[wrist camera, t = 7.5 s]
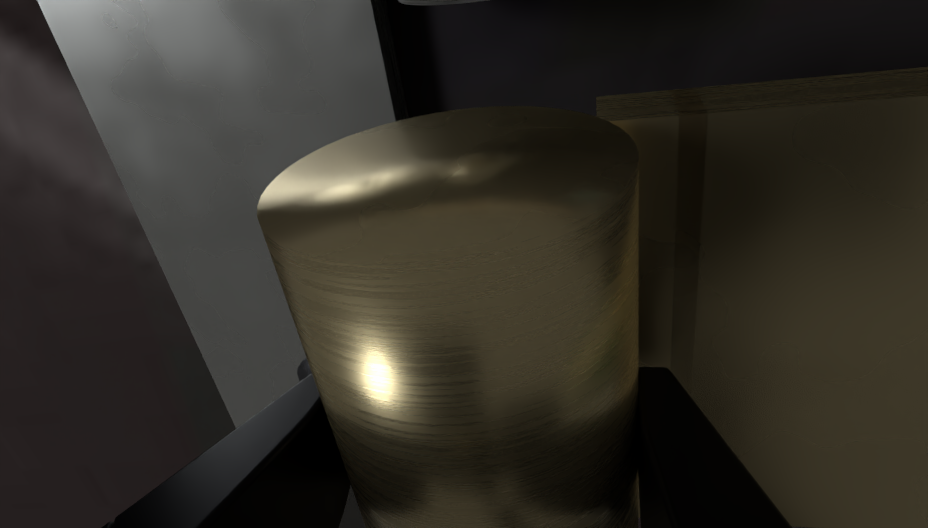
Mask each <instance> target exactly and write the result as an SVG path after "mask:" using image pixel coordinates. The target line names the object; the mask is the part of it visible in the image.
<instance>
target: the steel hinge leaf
mask: <svg viewBox="0 0 928 528" xmlns="http://www.w3.org/2000/svg"><path fill="white" fill-rule="evenodd" d="M37 1H38V3H39V5H40V7H41V10H42V12H43V14H44V16H45V18H46V20H47V22H48V25H49V27H50V29H51V31H52V33H53V35H54V37H55V40H56V42H57V44H58V46H59V48H60V50H61V53H62V55H63V57H64V59H65V61H66V63H67V65H68V68H69V70H70V72H71V74H72V76H73V78H74V80H75V83H76V85H77V87H78V89H79V91H80V93H81V96H82V98H83V100H84V102H85V104H86V106H87V108H88V111H89V113H90V115H91V117H92V119H93V121H94V123H95V126H96V128H97V130H98V132H99V134H100V136H101V139H102V141H103V143H104V145H105V147H106V149H107V151H108V154H109V156H110V158H111V160H112V162H113V164H114V167H115V169H116V171H117V173H118V175H119V177H120V179H121V182H122V184H123V186H124V188H125V190H126V192H127V194H128V197H129V199H130V201H131V203H132V205H133V207H134V210H135V212H136V214H137V216H138V218H139V220H140V222H141V225H142V227H143V229H144V231H145V233H146V235H147V237H148V240H149V242H150V244H151V246H152V248H153V250H154V253H155V255H156V257H157V259H158V261H159V263H160V265H161V268H162V270H163V272H164V274H165V276H166V278H167V280H168V283H169V285H170V287H171V289H172V291H173V293H174V296H175V298H176V300H177V302H178V304H179V306H180V308H181V311H182V313H183V315H184V317H185V319H186V321H187V323H188V326H189V328H190V330H191V332H192V334H193V336H194V339H195V341H196V343H197V345H198V347H199V349H200V351H201V354H202V356H203V358H204V360H205V362H206V364H207V367H208V369H209V371H210V373H211V375H212V377H213V379H214V382H215V384H216V386H217V388H218V390H219V392H220V394H221V397H222V399H223V401H224V403H225V405H226V407H227V410H228V412H229V414H230V416H231V418H232V420H233V422H234V425H235V427H236V429H237V428H238V427H239V426H241V425H242V424H243V423H245V422H246V421H247V420H249V419H250V418H251V417H253V416H254V415H256V414H257V413H258V412H260V411H261V410H262V409H264V408H265V407H266V406H268V405H269V404H270V403H272V402H273V401H275V400H276V399H277V398H279V397H280V396H281V395H283V394H284V393H285V392H287V391H288V390H289V389H291V388H292V387H294V386H295V385H296V384H298V383H299V382H300V381H302V380H303V379H304V378H306V377H307V376H308V375H310V374H311V373H312V372H311V369H310V366H309V363H308V361H307V358H306V355H305V352H304V349H303V346H302V343H301V341H300V338H299V335H298V332H297V329H296V326H295V323H294V321H293V318H292V315H291V312H290V309H289V306H288V304H287V301H286V298H285V295H284V292H283V289H282V286H281V284H280V281H279V278H278V275H277V272H276V269H275V266H274V264H273V261H272V258H271V255H270V252H269V249H268V247H267V244H266V241H265V238H264V235H263V232H262V229H261V227H260V224H259V221H258V218H257V205H258V203H259V200H260V197H261V195H262V194H263V192H264V191H265V189H266V188H267V186H268V185H269V184H270V183H271V182H272V181H273V180H274V179H275V178H276V177H277V176H278V175H279V174H280V173H282V172H283V171H284V170H285V169H286V168H288V167H289V166H291V165H292V164H294V163H295V162H297V161H298V160H300V159H301V158H303V157H305V156H307V155H308V154H310V153H312V152H314V151H316V150H318V149H320V148H322V147H324V146H326V145H328V144H331V143H333V142H335V141H338V140H340V139H343V138H345V137H348V136H350V135H353V134H356V133H359V132H361V131H365V130H368V129H371V128H374V127H377V126H381V125H384V124H388V123H392V122H396V121H399V120H404V119H408V118H409V115H408V110H407V105H406V100H405V95H404V90H403V84H402V79H401V74H400V69H399V64H398V59H397V54H396V49H395V43H394V38H393V33H392V28H391V23H390V18H389V13H388V8H387V2H386V0H37ZM398 1H399V2H400V3H403V4H407V5H448V4H460V3H471V2H480V1H488V0H398Z"/></svg>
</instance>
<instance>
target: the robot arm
mask: <svg viewBox="0 0 928 528" xmlns="http://www.w3.org/2000/svg"><path fill="white" fill-rule="evenodd" d="M638 481H639V501H640V519H641V528H792V526H791V525H790V524H789V522H788V521H787V520H786V519H785V517H784V516H783V515H782V513H781V512H780V511H779V510H778V508H777V507H776V506H775V504H774V503H773V502H772V501H771V499H770V498H769V497H768V495H767V494H766V493H765V492H764V490H763V489H762V488H761V486H760V485H759V484H758V483H757V481H756V480H755V479H754V477H753V476H752V475H751V474H750V472H749V471H748V470H747V468H746V467H745V466H744V465H743V463H742V462H741V461H740V459H739V458H738V457H737V456H736V454H735V453H734V452H733V450H732V449H731V448H730V447H729V445H728V444H727V443H726V441H725V440H724V439H723V438H722V436H721V435H720V434H719V432H718V431H717V430H716V429H715V427H714V426H713V425H712V423H711V422H710V421H709V420H708V418H707V417H706V416H705V414H704V413H703V412H702V411H701V409H700V408H699V407H698V405H697V404H696V403H695V402H694V400H693V399H692V398H691V396H690V395H689V394H688V393H687V391H686V390H685V389H684V387H683V386H682V385H681V384H680V382H679V381H678V380H677V378H676V377H675V376H674V375H673V373H672V372H671V371H670V370H669V369H668V368H666V367H639V368H638ZM350 484H351V483H350V480H349V477H348V475H347V472H346V469H345V466H344V463H343V460H342V458H341V455H340V452H339V449H338V446H337V443H336V440H335V438H334V435H333V432H332V429H331V426H330V423H329V420H328V418H327V415H326V412H325V409H324V406H323V403H322V400H321V398H320V395H319V392H318V389H317V386H316V383H315V381H314V378H313V375H312V373H311V374H310V375H308V376H307V377H306V378H304V379H303V380H302V381H300V382H299V383H298V384H296V385H295V386H294V387H292V388H291V389H289V390H288V391H287V392H285V393H284V394H283V395H281V396H280V397H279V398H277V399H276V400H275V401H273V402H272V403H270V404H269V405H268V406H266V407H265V408H264V409H262V410H261V411H260V412H258V413H257V414H256V415H254V416H253V417H251V418H250V419H249V420H247V421H246V422H245V423H243V424H242V425H241V426H239V427H238V428H237V429H235V430H234V431H232V432H231V433H230V434H228V435H227V436H226V437H224V438H223V439H222V440H220V441H219V442H218V443H216V444H215V445H213V446H212V447H211V448H209V449H208V450H207V451H205V452H204V453H203V454H201V455H200V456H199V457H197V458H196V459H194V460H193V461H192V462H190V463H189V464H188V465H186V466H185V467H184V468H182V469H181V470H179V471H178V472H177V473H175V474H174V475H173V476H171V477H170V478H169V479H167V480H166V481H165V482H163V483H162V484H160V485H159V486H158V487H156V488H155V489H154V490H152V491H151V492H150V493H148V494H147V495H145V496H144V497H143V498H141V499H140V500H139V501H137V502H136V503H135V504H133V505H132V506H131V507H129V508H128V509H126V510H125V511H124V512H122V513H121V514H120V515H118V516H117V517H116V518H115V521H114V522H109V523H107V524H106V525H105V526H103V527H102V528H339V524H340V521H341V518H342V515H343V512H344V508H345V505H346V501H347V497H348V493H349V489H350Z"/></svg>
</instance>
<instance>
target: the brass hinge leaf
mask: <svg viewBox="0 0 928 528" xmlns="http://www.w3.org/2000/svg"><path fill="white" fill-rule="evenodd" d="M596 104H597V117H596V116H592V115H588V114H585V113H581V112H576V111H570V110H565V109H557V108H549V107H534V106H496V107H480V108H469V109H460V110H452V111H446V112H439V113H433V114H428V115H422V116H417V117H413V118H408V119H404V120H399V121H396V122H392V123H388V124H384V125H381V126H377V127H374V128H371V129H368V130H365V131H361V132H359V133H356V134H353V135H350V136H348V137H345V138H343V139H340V140H338V141H335V142H333V143H331V144H328V145H326V146H324V147H322V148H320V149H318V150H316V151H314V152H312V153H310V154H308V155H307V156H305V157H303V158H301V159H300V160H298V161H297V162H295V163H294V164H292V165H291V166H289V167H288V168H286V169H285V170H284V171H283V172H282V173H280V174H279V175H278V176H277V177H276V178H275V179H274V180H273V181H272V182H271V183H270V184H269V185H268V186H267V188H266V189H265V191H264V192H263V194H262V195H261V197H260V200H259V203H258V205H257V218H258V221H259V224H260V227H261V229H262V232H263V235H264V238H265V241H266V244H267V247H268V249H269V252H270V255H271V258H272V261H273V264H274V266H275V269H276V272H277V275H278V278H279V281H280V284H281V286H282V289H283V292H284V295H285V298H286V301H287V304H288V306H289V309H290V312H291V315H292V318H293V321H294V323H295V326H296V329H297V332H298V335H299V338H300V341H301V343H302V346H303V349H304V352H305V355H306V358H307V361H308V363H309V366H310V369H311V372H312V375H313V378H314V381H315V383H316V386H317V389H318V392H319V395H320V398H321V400H322V403H323V406H324V409H325V412H326V415H327V418H328V420H329V423H330V426H331V429H332V432H333V435H334V438H335V440H336V443H337V446H338V449H339V452H340V455H341V458H342V460H343V463H344V466H345V469H346V472H347V475H348V477H349V480H350V483H351V486H352V489H353V492H354V495H355V497H356V500H357V503H358V506H359V509H360V512H361V515H362V517H363V520H364V523H365V526H366V528H638V517H640V501H639V481H638V368H639V367H666V368H668V369H669V370H670V371H671V372H672V373H673V375H674V376H675V377H676V378H677V380H678V381H679V382H680V384H681V385H682V386H683V387H684V389H685V390H686V391H687V393H688V394H689V395H690V396H691V398H692V399H693V400H694V402H695V403H696V404H697V405H698V407H699V408H700V409H701V411H702V412H703V413H704V414H705V416H706V417H707V418H708V420H709V421H710V422H711V423H712V425H713V426H714V427H715V429H716V430H717V431H718V432H719V434H720V435H721V436H722V438H723V439H724V440H725V441H726V443H727V444H728V445H729V447H730V448H731V449H732V450H733V452H734V453H735V454H736V456H737V457H738V458H739V459H740V461H741V462H742V463H743V465H744V466H745V467H746V468H747V470H748V471H749V472H750V474H751V475H752V476H753V477H754V479H755V480H756V481H757V483H758V484H759V485H760V486H761V488H762V489H763V490H764V492H765V493H766V494H767V495H768V497H769V498H770V499H771V501H772V502H773V503H774V504H775V506H776V507H777V508H778V510H779V511H780V512H781V513H782V515H783V516H784V517H785V519H786V520H787V521H788V522H789V524H790V525H791V526H796V527H813V528H928V67H921V68H910V69H899V70H888V71H877V72H866V73H855V74H844V75H833V76H822V77H811V78H800V79H789V80H777V81H766V82H755V83H744V84H733V85H722V86H711V87H700V88H689V89H678V90H667V91H656V92H645V93H634V94H623V95H612V96H601V97H596Z"/></svg>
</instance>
